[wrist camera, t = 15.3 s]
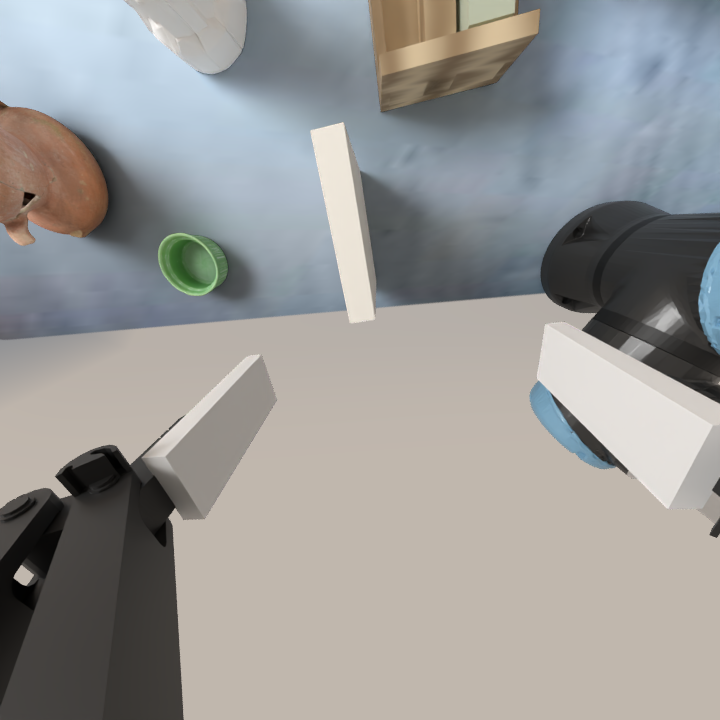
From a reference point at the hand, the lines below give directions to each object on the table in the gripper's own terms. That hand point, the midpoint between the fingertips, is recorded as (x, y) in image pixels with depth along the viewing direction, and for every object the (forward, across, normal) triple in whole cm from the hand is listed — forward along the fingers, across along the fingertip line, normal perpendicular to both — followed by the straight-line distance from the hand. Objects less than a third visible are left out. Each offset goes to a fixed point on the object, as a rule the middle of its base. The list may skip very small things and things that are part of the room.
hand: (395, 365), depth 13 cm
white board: (+33, +3, -6) cm, 34 cm away
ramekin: (+33, +29, -5) cm, 45 cm away
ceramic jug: (+33, +45, -20) cm, 59 cm away
